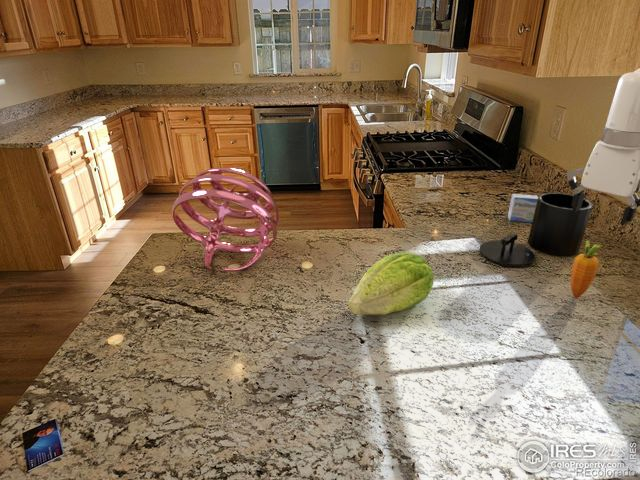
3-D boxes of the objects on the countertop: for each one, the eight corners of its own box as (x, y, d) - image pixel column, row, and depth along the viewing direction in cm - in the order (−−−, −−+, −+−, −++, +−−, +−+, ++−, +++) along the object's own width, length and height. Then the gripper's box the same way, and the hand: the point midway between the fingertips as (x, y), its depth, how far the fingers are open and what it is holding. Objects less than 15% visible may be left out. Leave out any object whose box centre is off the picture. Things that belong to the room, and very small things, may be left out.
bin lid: (543, 256, 121) (548, 237, 118) (518, 273, 113) (522, 254, 110) (495, 239, 131) (499, 221, 129) (468, 254, 123) (471, 235, 120)
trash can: (586, 247, 126) (599, 201, 120) (566, 261, 118) (580, 213, 112) (540, 232, 136) (550, 189, 129) (519, 245, 128) (529, 199, 121)
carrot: (564, 290, 105) (580, 235, 99) (587, 296, 103) (605, 240, 96) (563, 300, 101) (579, 244, 95) (587, 306, 99) (605, 249, 93)
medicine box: (509, 221, 144) (514, 197, 140) (507, 216, 148) (512, 192, 144) (534, 223, 142) (540, 199, 138) (531, 218, 146) (537, 194, 142)
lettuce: (326, 283, 98) (355, 278, 86) (396, 248, 108) (431, 240, 96) (348, 334, 98) (380, 337, 86) (416, 295, 108) (454, 292, 96)
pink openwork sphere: (229, 231, 91) (255, 137, 105) (132, 242, 102) (167, 155, 116) (286, 285, 113) (302, 202, 126) (201, 289, 124) (224, 212, 137)
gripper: (681, 143, 82) (651, 224, 89) (585, 129, 94) (565, 202, 101) (670, 149, 77) (639, 234, 85) (571, 133, 89) (551, 209, 97)
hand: (599, 216), depth 93 cm, fingers open, 9 cm apart
